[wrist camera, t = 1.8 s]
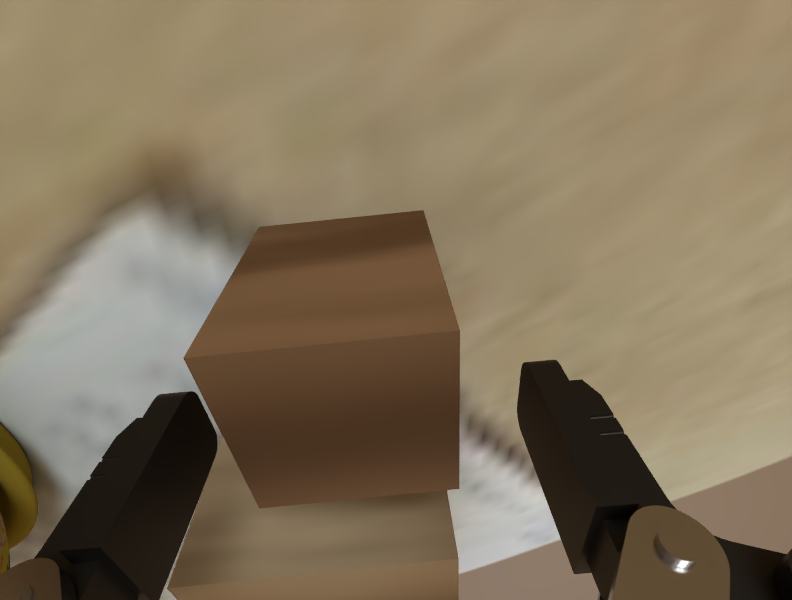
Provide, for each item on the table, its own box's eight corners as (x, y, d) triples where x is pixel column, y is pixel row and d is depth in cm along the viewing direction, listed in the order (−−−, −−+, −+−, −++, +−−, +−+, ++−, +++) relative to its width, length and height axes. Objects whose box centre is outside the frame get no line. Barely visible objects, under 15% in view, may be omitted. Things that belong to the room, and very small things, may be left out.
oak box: (225, 428, 17) (167, 588, 12) (432, 407, 17) (458, 558, 12) (277, 533, 22) (250, 677, 17) (438, 517, 22) (458, 656, 17)
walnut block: (260, 226, 12) (183, 358, 7) (422, 209, 12) (459, 330, 7) (296, 350, 15) (259, 508, 10) (429, 337, 15) (459, 488, 10)
